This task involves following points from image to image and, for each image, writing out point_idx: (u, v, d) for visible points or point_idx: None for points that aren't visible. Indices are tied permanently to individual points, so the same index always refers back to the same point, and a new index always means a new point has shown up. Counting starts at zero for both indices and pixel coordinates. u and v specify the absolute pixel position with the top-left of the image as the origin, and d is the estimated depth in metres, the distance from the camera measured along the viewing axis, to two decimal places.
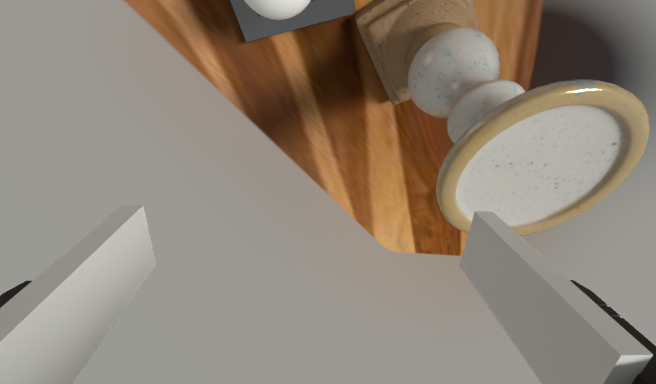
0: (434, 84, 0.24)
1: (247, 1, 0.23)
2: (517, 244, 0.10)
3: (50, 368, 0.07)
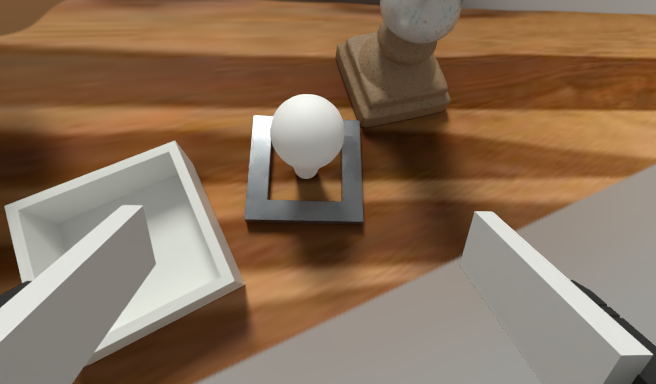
0: None
1: (320, 150, 0.24)
2: (517, 244, 0.10)
3: (50, 368, 0.07)
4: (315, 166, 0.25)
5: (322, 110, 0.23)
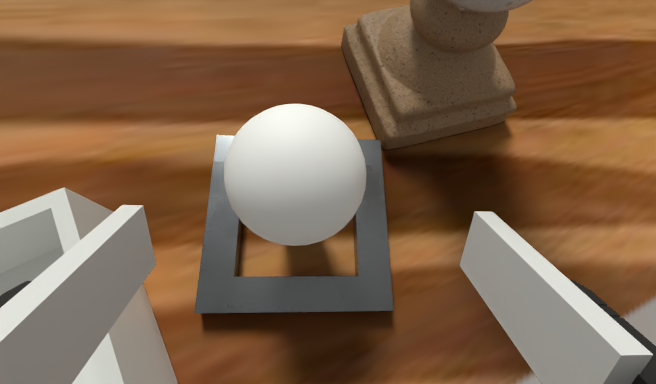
0: None
1: (322, 219, 0.12)
2: (517, 244, 0.10)
3: (50, 368, 0.07)
4: (311, 242, 0.13)
5: (323, 138, 0.11)
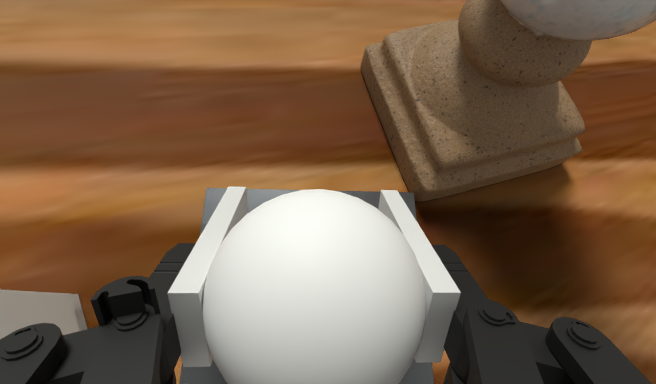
0: None
1: None
2: (402, 215, 0.12)
3: None
4: None
5: (368, 276, 0.07)
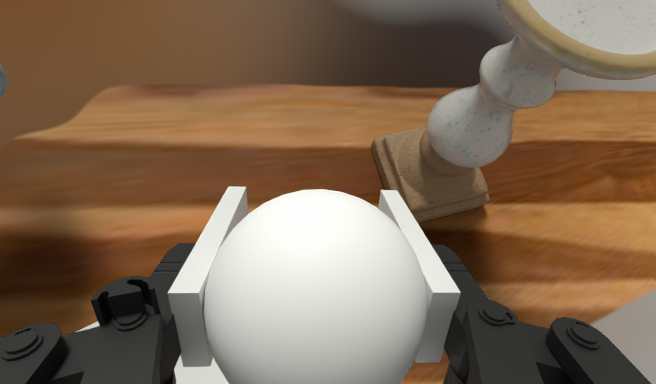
0: (476, 134, 0.25)
1: None
2: (402, 215, 0.12)
3: None
4: None
5: (370, 276, 0.07)
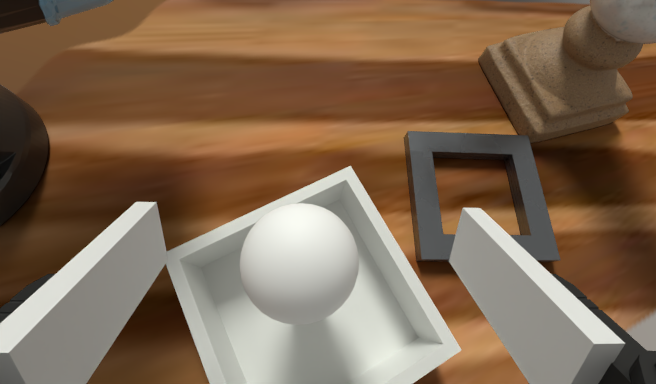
0: None
1: (318, 300, 0.14)
2: (502, 239, 0.11)
3: (74, 357, 0.08)
4: (312, 322, 0.15)
5: (319, 232, 0.14)
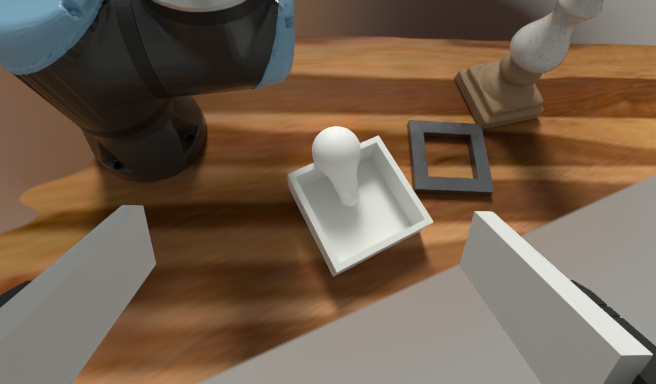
0: (549, 44, 0.40)
1: (329, 146, 0.36)
2: (517, 244, 0.10)
3: (50, 368, 0.07)
4: (329, 162, 0.37)
5: (337, 127, 0.38)
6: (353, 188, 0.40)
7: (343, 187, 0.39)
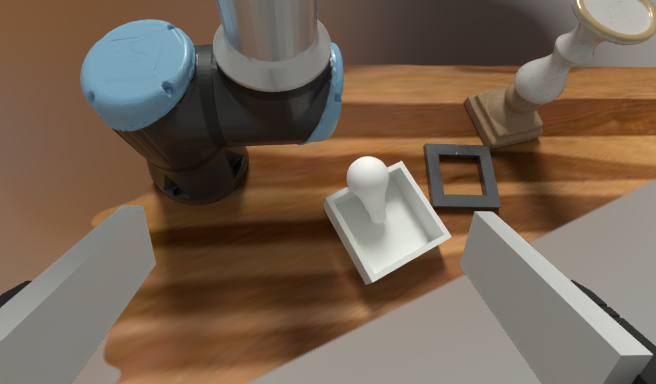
0: (549, 81, 0.46)
1: (364, 175, 0.43)
2: (517, 244, 0.10)
3: (50, 368, 0.07)
4: (364, 188, 0.43)
5: (370, 158, 0.44)
6: (382, 208, 0.46)
7: (374, 208, 0.46)
